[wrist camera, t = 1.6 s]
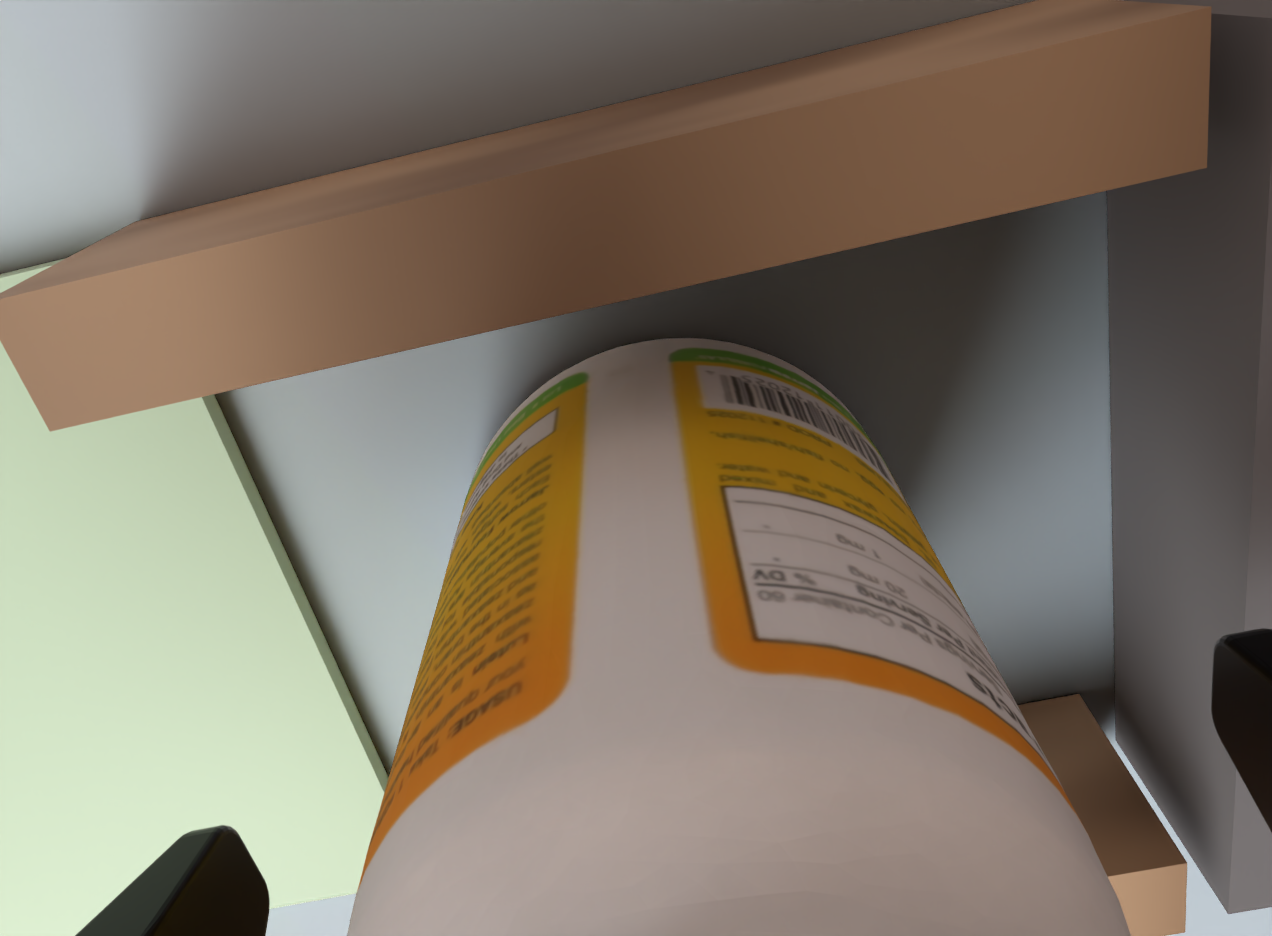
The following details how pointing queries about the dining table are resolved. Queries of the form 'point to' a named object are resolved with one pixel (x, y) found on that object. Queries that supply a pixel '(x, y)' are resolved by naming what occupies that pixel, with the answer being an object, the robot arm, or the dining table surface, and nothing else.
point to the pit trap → (1196, 453)
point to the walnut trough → (653, 246)
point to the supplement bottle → (711, 689)
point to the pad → (159, 669)
